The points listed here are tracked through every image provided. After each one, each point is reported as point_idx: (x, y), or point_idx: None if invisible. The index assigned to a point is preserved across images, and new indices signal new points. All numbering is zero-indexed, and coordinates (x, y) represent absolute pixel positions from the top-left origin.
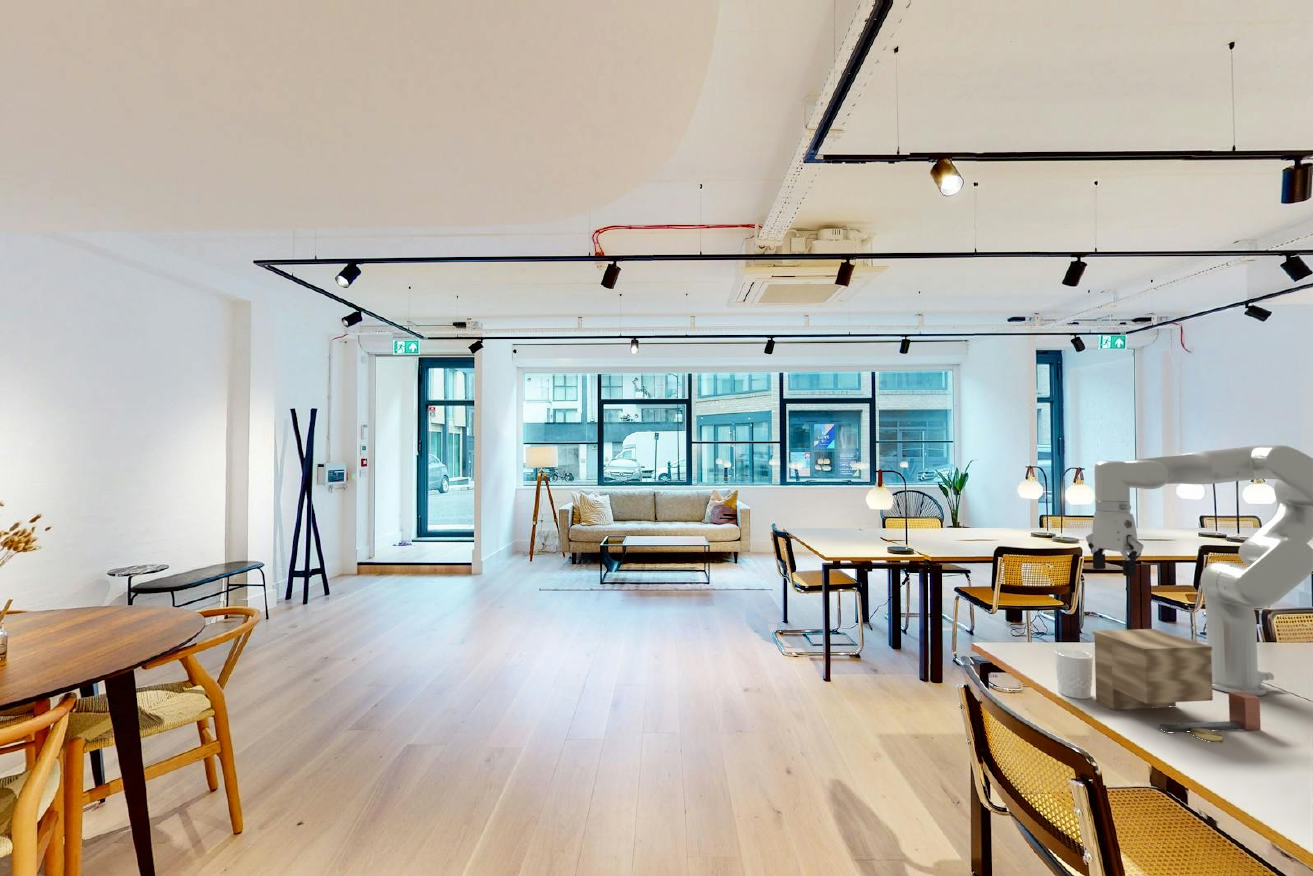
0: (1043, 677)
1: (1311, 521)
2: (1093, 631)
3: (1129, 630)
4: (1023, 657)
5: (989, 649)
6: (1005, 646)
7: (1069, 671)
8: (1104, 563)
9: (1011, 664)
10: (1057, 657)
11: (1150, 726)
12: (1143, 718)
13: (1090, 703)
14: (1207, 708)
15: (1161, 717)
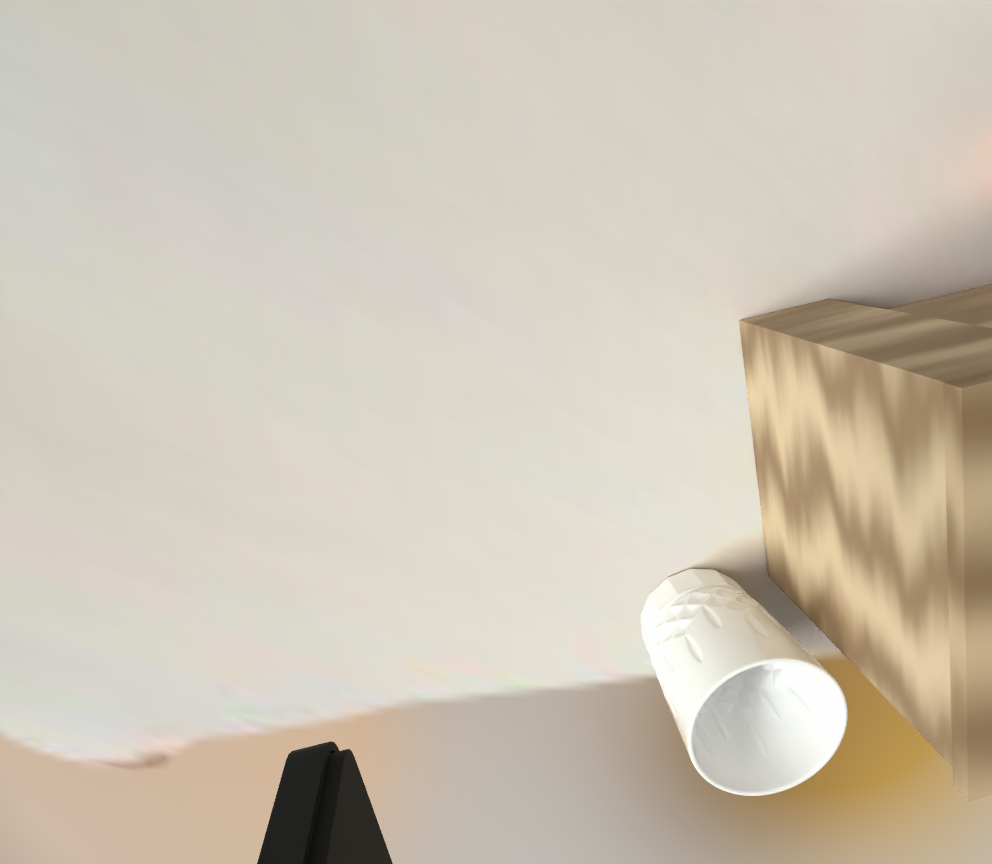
0: (504, 651)
1: None
2: (976, 798)
3: (984, 588)
4: (213, 632)
5: (110, 736)
6: (23, 651)
7: (783, 717)
8: (338, 850)
9: (342, 714)
10: (755, 779)
11: None
12: None
13: (783, 601)
14: (843, 162)
15: None
